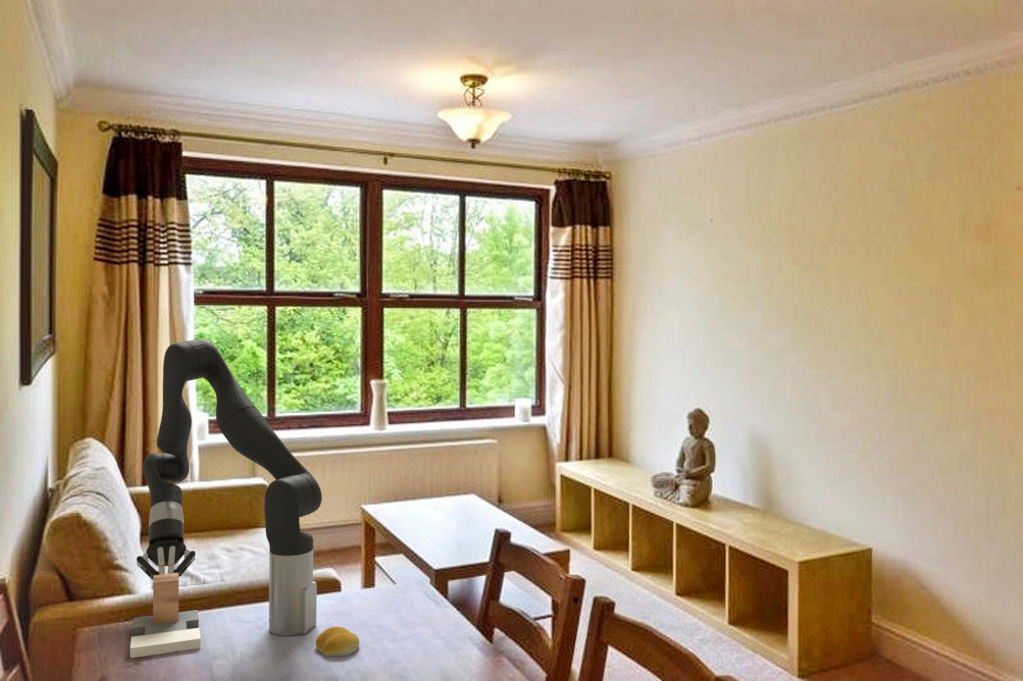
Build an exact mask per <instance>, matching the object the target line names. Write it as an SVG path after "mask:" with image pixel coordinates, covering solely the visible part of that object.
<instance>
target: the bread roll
mask: <svg viewBox="0 0 1023 681" xmlns="http://www.w3.org/2000/svg"><path fill="white" fill-rule="evenodd" d="M315 646H316V648H317V649H318V651H319V652H321V653H322V654H323V655H325V656H327V657H346V656H349V655H351V654H353V653H355V652H356V651H357V650H358V649H359V647H360V639H359V636H358V635H357V634H355V633H352V632H351V631H350V630H349V629H348V628H345V627H343V626H331V627H328V628H326V629H325V630H323V631H322V632H321V633H319V635H318V636H317V637H316V639H315ZM345 655H346V656H345Z"/></svg>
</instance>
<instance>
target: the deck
mask: <svg viewBox="0 0 1023 681" xmlns="http://www.w3.org/2000/svg"><path fill="white" fill-rule="evenodd" d="M199 619H200V618H199V610H198V609H196V610H195V609H194V610H187V611H179V621H176V622H168V623H161V624H153V615H148V616H146V615H145V616H139V617H133V619H132V625H131V626H132V628H131V629H132V630H131V632H132V633H131V634H132V636H131V637H134V636H142V635H149V634H157V633H164V632H172V631H179V630H187V629H194V628H200V627H199V626H200V625H199V622H200V621H199Z"/></svg>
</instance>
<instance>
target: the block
mask: <svg viewBox="0 0 1023 681" xmlns="http://www.w3.org/2000/svg"><path fill="white" fill-rule="evenodd" d="M179 578H180V577H178V573H172V574H167V573H165V574H163V575H154V576H153V580H152V585H153V586H152V600H153V601H152V606H153V607H152V608H153V609H152V616H153V624H161V623H168V622H176V621H179V612H180V611H179V609H180V608H179V606H180V605H179V604H180V603H179V600H180V599H179V598H180V597H179V596H180V594H179V590H180V589H179V587H180V586H179V583H180V582H179V581H180V580H179Z"/></svg>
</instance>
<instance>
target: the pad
mask: <svg viewBox="0 0 1023 681" xmlns="http://www.w3.org/2000/svg"><path fill="white" fill-rule="evenodd" d="M130 638H131V639H130V647H129V653H130V654H129V656H130V657H129V659H135V658H140V657H148V656H153V655H154V656H155V655H161V654H163V655H164V654H168V653H169V654H170V653H176V652H175V651H177V652H183V651H189V650H197V649H201V644H202V643H201V642H202V641H201V640H202V638H201V628H200V627H199V628H194V629H187V630H179V631H172V632H164V633H157V634H149V635H142V636H134V637H132V636H131V637H130Z"/></svg>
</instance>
